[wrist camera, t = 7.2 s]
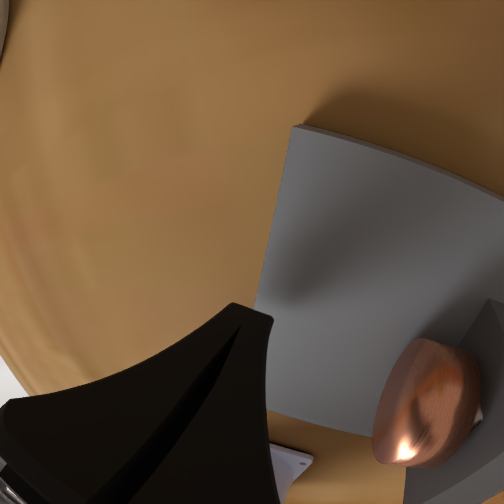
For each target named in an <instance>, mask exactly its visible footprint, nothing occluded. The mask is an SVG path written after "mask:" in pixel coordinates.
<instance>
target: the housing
mask: <svg viewBox="0 0 504 504" xmlns="http://www.w3.org/2000/svg"><path fill="white" fill-rule="evenodd" d="M253 310H256V311H259V312H262V313H265V314H267V315H270V316H272V317H273V319H274V323H273V326H272V329H271V333H270V336H269V342H268V349H267V360H266V409H267V410H270V411H273V412H276V413H279V414H282V415H285V416H289V417H292V418H295V419H298V420H302V421H305V422H309V423H312V424H316V425H320V426H323V427H327V428H331V429H335V430H339V431H343V432H348V433H352V434H356V435H361V436H366V437H370V438H372V433H373V425H374V420H375V415H376V411H377V407H378V404H379V401H380V397H381V395H382V392H383V389H384V386H385V384H386V381H387V379H388V377H389V375H390V373H391V371H392V369H393V367H394V365H395V363H396V361H397V360H398V358H399V357H400V355H401V354H402V352H403V351H404V350H405V349H406V347H407V346H408V345H409V344H410V343H412V342H413V341H414V340H416V339H419V338H425V339H428V340H432V341H435V342H439V343H443V344H446V345H450V346H453V347H457V348H461V349H464V350H467V351H469V352H470V353H471V354H472V355H473V356H474V358H475V359H476V361H477V364H478V367H479V371H480V378H481V393H480V405H481V410H482V416H483V421H482V422H481V423H480V424H479V425H478V426H477V427H476V428H474V429H473V430H472V431H471V432H470V433H469V434H468V436H467V437H466V439H465V441H464V442H463V444H462V445H461V447H460V448H459V449H458V451H457V452H456V453H455V454H454V455H453V456H452V457H451V458H450V459H449V460H448V461H446V462H445V463H444V464H442V465H440V466H438V467H436V468H432V469H423V468H413V467H406V479H405V490H404V499H403V504H480V503H482V502H484V501H486V500H488V499H489V498H491V497H493V496H495V495H496V494H498V493H500V492H501V491H503V490H504V197H503V196H501V195H499V194H497V193H495V192H493V191H491V190H489V189H487V188H484V187H482V186H480V185H478V184H476V183H474V182H472V181H470V180H467V179H465V178H463V177H461V176H458V175H456V174H454V173H451V172H449V171H447V170H444V169H442V168H439V167H437V166H434V165H432V164H429V163H427V162H424V161H422V160H419V159H416V158H414V157H411V156H408V155H405V154H403V153H400V152H397V151H394V150H391V149H388V148H385V147H382V146H379V145H376V144H373V143H370V142H367V141H364V140H360V139H357V138H354V137H350V136H347V135H343V134H340V133H336V132H332V131H329V130H325V129H321V128H317V127H313V126H309V125H305V124H299V125H295V126H292V130H291V135H290V140H289V145H288V150H287V155H286V160H285V164H284V169H283V174H282V179H281V184H280V188H279V193H278V198H277V203H276V207H275V212H274V217H273V221H272V226H271V231H270V236H269V240H268V245H267V249H266V254H265V259H264V263H263V268H262V272H261V277H260V281H259V286H258V291H257V295H256V300H255V304H254V309H253Z"/></svg>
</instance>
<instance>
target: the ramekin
mask: <svg viewBox="0 0 504 504" xmlns="http://www.w3.org/2000/svg"><path fill="white" fill-rule="evenodd" d="M8 14H9V0H0V58H1V54H2V49H3V45H4V40H5V35H6V29H7V22H8Z"/></svg>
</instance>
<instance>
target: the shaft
mask: <svg viewBox="0 0 504 504" xmlns="http://www.w3.org/2000/svg"><path fill="white" fill-rule="evenodd" d="M480 393H481V378H480V371H479V367H478V364H477V361H476V359H475V358H474V356H473V355H472V354H471V353H470V352H469V351H467V350H464V349H461V348H457V347H453V346H450V345H446V344H443V343H439V342H435V341H432V340H428V339H425V338H419V339H416V340H414V341H413V342H412V343H410V344H409V345H408V346H407V347H406V349H405V350H404V351H403V352H402V354H401V355H400V357H399V358H398V360H397V361H396V363H395V365H394V367H393V369H392V371H391V373H390V375H389V377H388V379H387V381H386V384H385V386H384V389H383V392H382V395H381V397H380V401H379V404H378V407H377V411H376V415H375V420H374V425H373V433H372V448H373V453H374V456H375V458H376V459H377V460H378V461H379V462H380V463H383V464H390V465H397V466H405V467H413V468H423V469H432V468H436V467H438V466H440V465H442V464H444V463H445V462H446V461H448V460H449V459H450V458H451V457H452V456H453V455H454V454H455V453H456V452H457V451H458V449H459V448H460V447H461V445H462V444H463V442H464V441H465V439H466V437H467V436H468V434H469V433H470V432H471V431H472V430H473V429H474V428H476V427H477V426H478V425H479V424H480V423H481V422H482V421H483V416H482V410H481V405H480Z"/></svg>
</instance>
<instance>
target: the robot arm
mask: <svg viewBox="0 0 504 504" xmlns="http://www.w3.org/2000/svg"><path fill="white" fill-rule="evenodd" d="M273 323H274V319H273V317H272V316H270V315H267V314H265V313H262V312H259V311H256V310H253V309H250V308H248V307H245V306H242V305H239V304H237V303H234V302H233V303H230V304H229V305H227V306H226V307H225V308H224V309H223V310H221V311H220V312H219V313H218V314H216V315H215V316H214V317H213V318H211V319H210V320H209V321H207V322H206V323H205V324H203V325H202V326H200V327H199V328H198V329H196V330H195V331H193V332H192V333H190V334H189V335H187V336H186V337H184V338H183V339H181V340H180V341H178V342H176V343H175V344H173V345H171V346H170V347H168V348H166V349H165V350H163V351H161V352H159V353H158V354H156V355H154V356H152V357H150V358H148V359H146V360H145V361H143V362H140V363H138V364H136V365H134V366H132V367H130V368H128V369H125V370H123V371H121V372H118V373H116V374H113V375H110V376H108V377H105V378H103V379H100V380H97V381H94V382H91V383H88V384H84V385H81V386H77V387H73V388H70V389H66V390H62V391H58V392H54V393H49V394H43V395H36V396H30V397H23V398H14V399H10V400H8V401H7V402H6V403H5V404H4V405H3V406H2V407H1V408H0V504H284V503H285V500H286V497H287V494H288V491H289V488H290V485H291V483H292V482H293V481H294V480H295V479H296V478H298V477H299V476H300V475H301V474H302V473H303V472H304V471H305V470H306V469H307V468H308V467H309V466H310V465H311V464H312V462H313V459H314V458H313V456H311V455H309V454H305V453H302V452H298V451H294V450H291V449H288V448H284V447H281V446H278V445H274V444H271V443H269V436H268V426H267V413H266V360H267V349H268V342H269V336H270V333H271V329H272V326H273ZM6 486H7V487H8V488H9V489H10V490H11V491H12V492H13V493H14V494H15V495H16V496H17V497H16V496H15V495H14V494H12V493H11V492H9V491H8V490H7V488H6Z"/></svg>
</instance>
